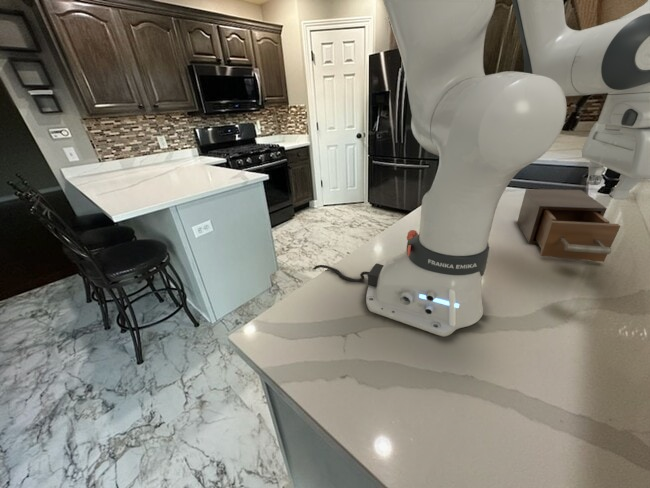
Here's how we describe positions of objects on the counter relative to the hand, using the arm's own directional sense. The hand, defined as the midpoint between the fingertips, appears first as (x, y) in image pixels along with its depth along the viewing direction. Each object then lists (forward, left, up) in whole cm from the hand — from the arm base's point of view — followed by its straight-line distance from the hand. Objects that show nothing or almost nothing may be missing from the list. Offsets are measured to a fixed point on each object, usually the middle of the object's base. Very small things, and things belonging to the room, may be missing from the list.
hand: (603, 190), depth 51 cm
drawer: (0, +7, -17) cm, 18 cm away
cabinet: (0, +18, -18) cm, 25 cm away
